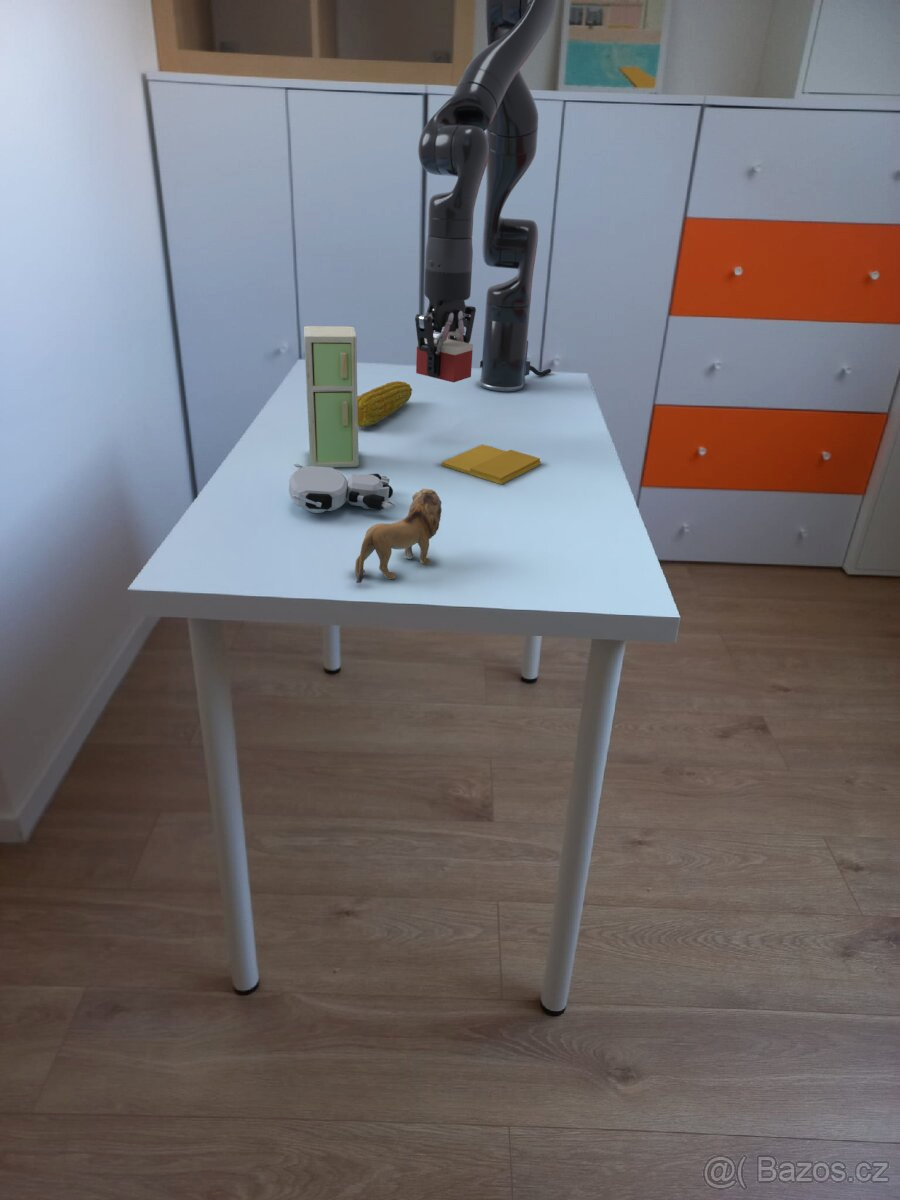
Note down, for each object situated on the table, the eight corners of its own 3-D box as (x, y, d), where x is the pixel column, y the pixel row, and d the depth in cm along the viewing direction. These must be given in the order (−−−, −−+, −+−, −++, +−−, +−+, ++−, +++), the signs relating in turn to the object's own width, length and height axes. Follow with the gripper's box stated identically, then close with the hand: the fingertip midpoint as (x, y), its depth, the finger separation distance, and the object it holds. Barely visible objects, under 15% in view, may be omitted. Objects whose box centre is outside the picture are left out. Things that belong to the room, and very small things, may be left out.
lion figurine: (418, 542, 112) (420, 480, 108) (449, 554, 110) (453, 491, 105) (342, 580, 102) (341, 513, 98) (374, 595, 99) (374, 527, 95)
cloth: (482, 447, 146) (482, 441, 145) (540, 464, 140) (541, 458, 139) (441, 465, 137) (441, 459, 137) (501, 484, 131) (502, 478, 131)
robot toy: (388, 493, 128) (289, 487, 126) (390, 465, 126) (290, 459, 123) (394, 527, 118) (287, 521, 115) (397, 498, 116) (288, 491, 113)
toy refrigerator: (309, 470, 133) (303, 336, 122) (308, 454, 139) (303, 325, 128) (359, 469, 134) (358, 337, 123) (356, 453, 140) (355, 326, 130)
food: (372, 433, 149) (372, 401, 146) (344, 428, 151) (344, 396, 148) (417, 403, 167) (418, 373, 164) (391, 398, 168) (392, 369, 165)
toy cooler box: (471, 377, 141) (473, 344, 138) (453, 382, 138) (455, 349, 135) (433, 368, 145) (434, 335, 142) (416, 373, 141) (416, 340, 139)
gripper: (440, 274, 126) (435, 385, 134) (492, 265, 136) (485, 369, 144) (401, 267, 129) (399, 376, 138) (455, 259, 140) (450, 361, 148)
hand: (443, 372), depth 141 cm, fingers closed on toy cooler box, 5 cm apart
